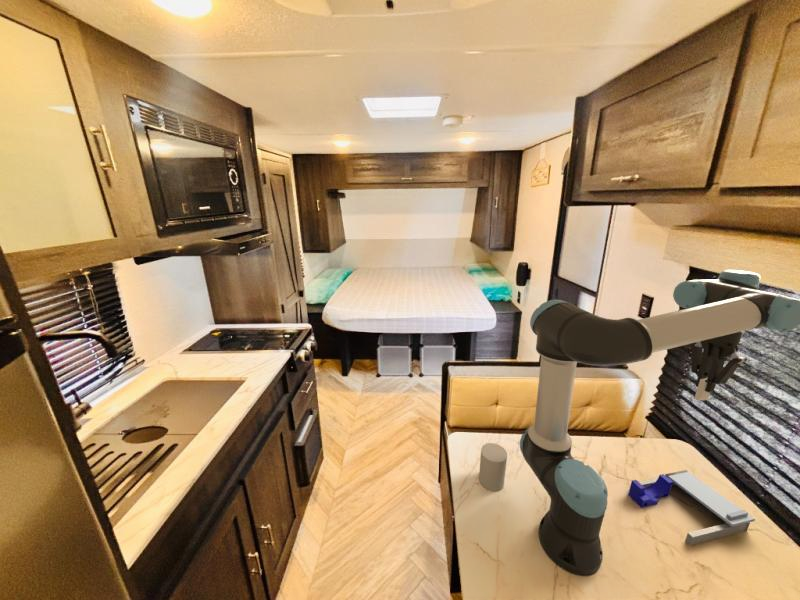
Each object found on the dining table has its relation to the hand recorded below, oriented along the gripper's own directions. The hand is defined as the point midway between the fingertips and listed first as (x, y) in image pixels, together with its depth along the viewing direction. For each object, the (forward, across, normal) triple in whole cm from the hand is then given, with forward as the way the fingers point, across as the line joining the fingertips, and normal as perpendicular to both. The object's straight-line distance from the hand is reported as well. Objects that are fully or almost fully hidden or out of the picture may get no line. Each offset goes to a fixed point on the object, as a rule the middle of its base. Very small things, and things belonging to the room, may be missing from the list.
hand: (700, 398), depth 92 cm
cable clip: (+33, -3, +12) cm, 35 cm away
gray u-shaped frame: (+33, -8, +6) cm, 34 cm away
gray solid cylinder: (+33, +11, +59) cm, 69 cm away
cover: (+29, -8, 0) cm, 30 cm away
